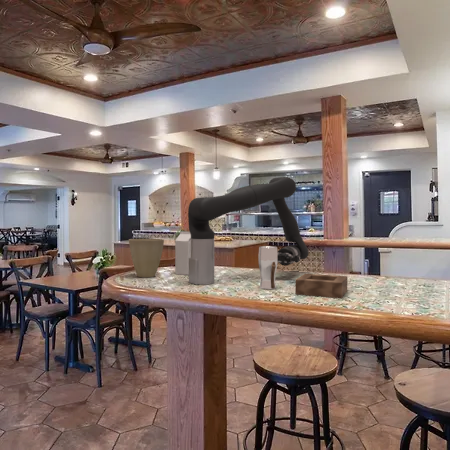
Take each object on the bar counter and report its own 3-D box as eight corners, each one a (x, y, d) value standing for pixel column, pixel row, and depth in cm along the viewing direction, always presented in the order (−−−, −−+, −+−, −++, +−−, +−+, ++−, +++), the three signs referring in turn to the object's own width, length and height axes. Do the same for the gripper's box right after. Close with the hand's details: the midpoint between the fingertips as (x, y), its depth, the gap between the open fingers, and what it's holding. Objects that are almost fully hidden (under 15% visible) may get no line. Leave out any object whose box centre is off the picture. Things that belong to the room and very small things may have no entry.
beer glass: (279, 286, 145) (279, 246, 145) (275, 290, 138) (275, 247, 138) (260, 285, 147) (261, 245, 147) (256, 289, 141) (256, 247, 140)
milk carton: (187, 275, 172) (187, 232, 171) (175, 274, 175) (175, 231, 175) (197, 273, 178) (197, 231, 177) (184, 272, 181) (185, 231, 181)
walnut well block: (295, 294, 131) (295, 279, 131) (305, 287, 145) (305, 273, 145) (341, 298, 125) (341, 282, 125) (347, 290, 139) (347, 276, 139)
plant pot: (160, 279, 161) (160, 240, 161) (124, 279, 161) (124, 240, 161) (166, 273, 176) (166, 238, 176) (133, 273, 176) (133, 238, 176)
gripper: (271, 246, 170) (259, 249, 156) (304, 247, 165) (294, 250, 150) (271, 263, 171) (259, 268, 156) (304, 265, 165) (294, 270, 150)
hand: (276, 259), depth 153 cm, fingers open, 8 cm apart
